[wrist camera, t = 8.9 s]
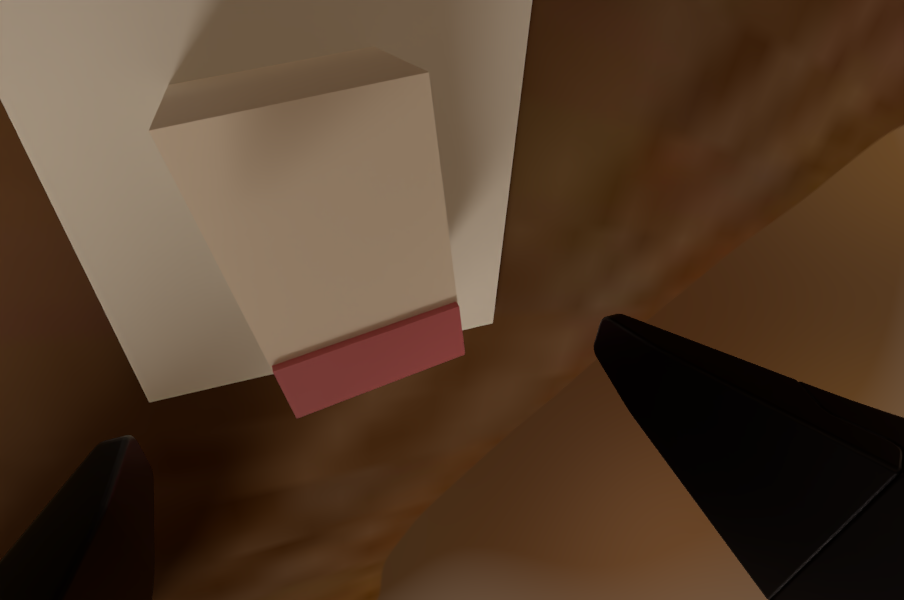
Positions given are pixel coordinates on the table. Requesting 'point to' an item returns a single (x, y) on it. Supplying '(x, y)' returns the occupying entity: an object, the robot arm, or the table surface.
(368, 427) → the table surface
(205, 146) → the card box
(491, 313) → the grey mat
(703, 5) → the table surface
